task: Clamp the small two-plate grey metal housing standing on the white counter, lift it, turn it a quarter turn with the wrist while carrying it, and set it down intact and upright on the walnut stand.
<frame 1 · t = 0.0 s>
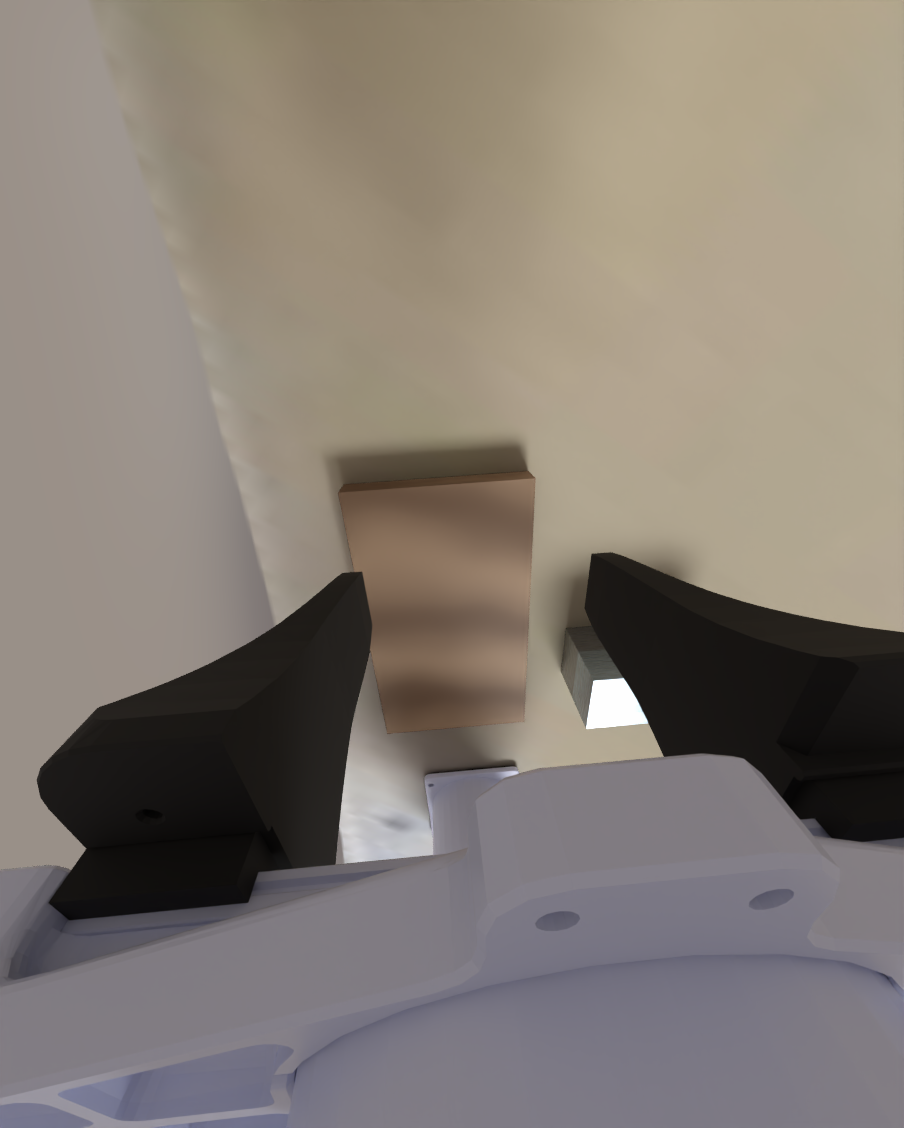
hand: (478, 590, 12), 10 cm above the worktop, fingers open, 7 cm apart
housing: (618, 645, 27), on the worktop
stand: (447, 614, 25), on the worktop
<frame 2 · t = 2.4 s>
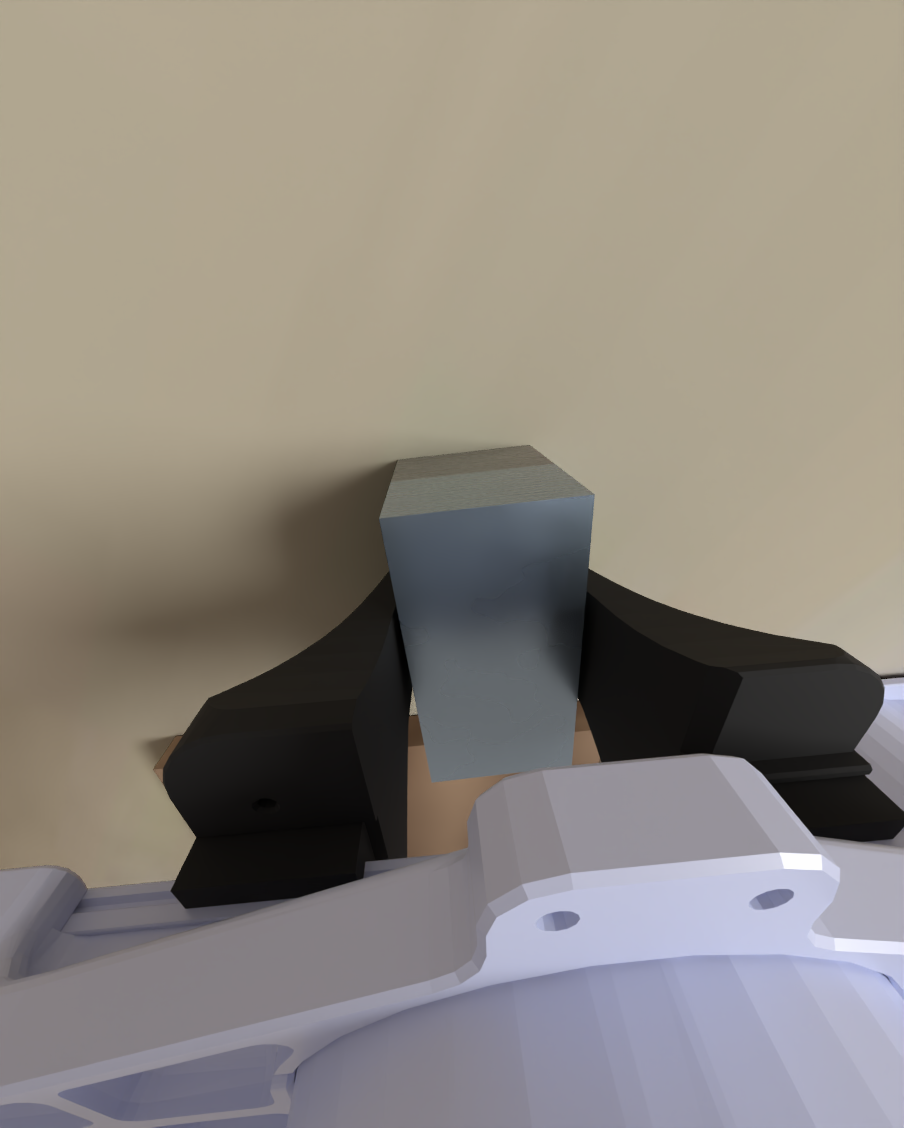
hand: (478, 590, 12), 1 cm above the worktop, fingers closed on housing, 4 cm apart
housing: (473, 567, 13), on the worktop, touching gripper
stand: (400, 787, 19), on the worktop
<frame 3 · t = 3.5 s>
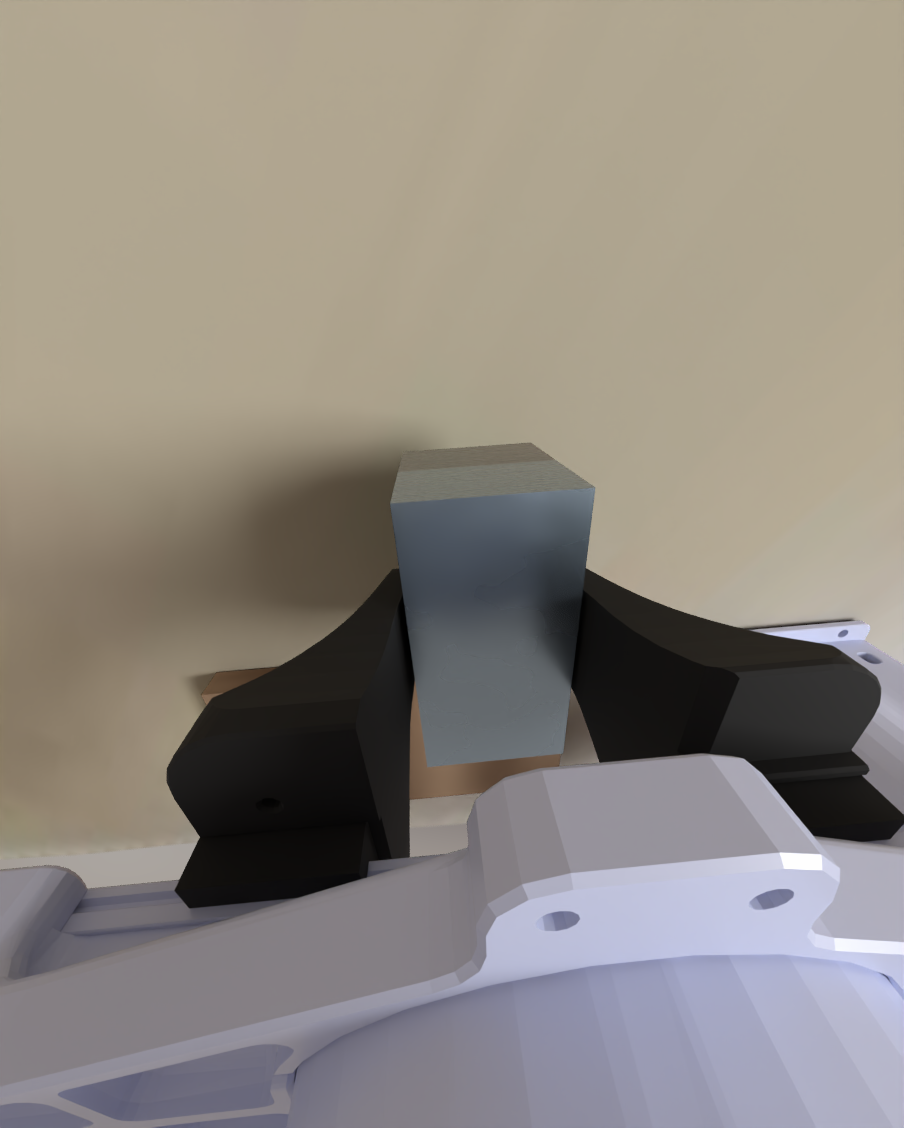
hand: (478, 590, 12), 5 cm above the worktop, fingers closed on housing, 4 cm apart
housing: (471, 561, 14), point 3 cm above the worktop, touching gripper
stand: (402, 723, 22), on the worktop
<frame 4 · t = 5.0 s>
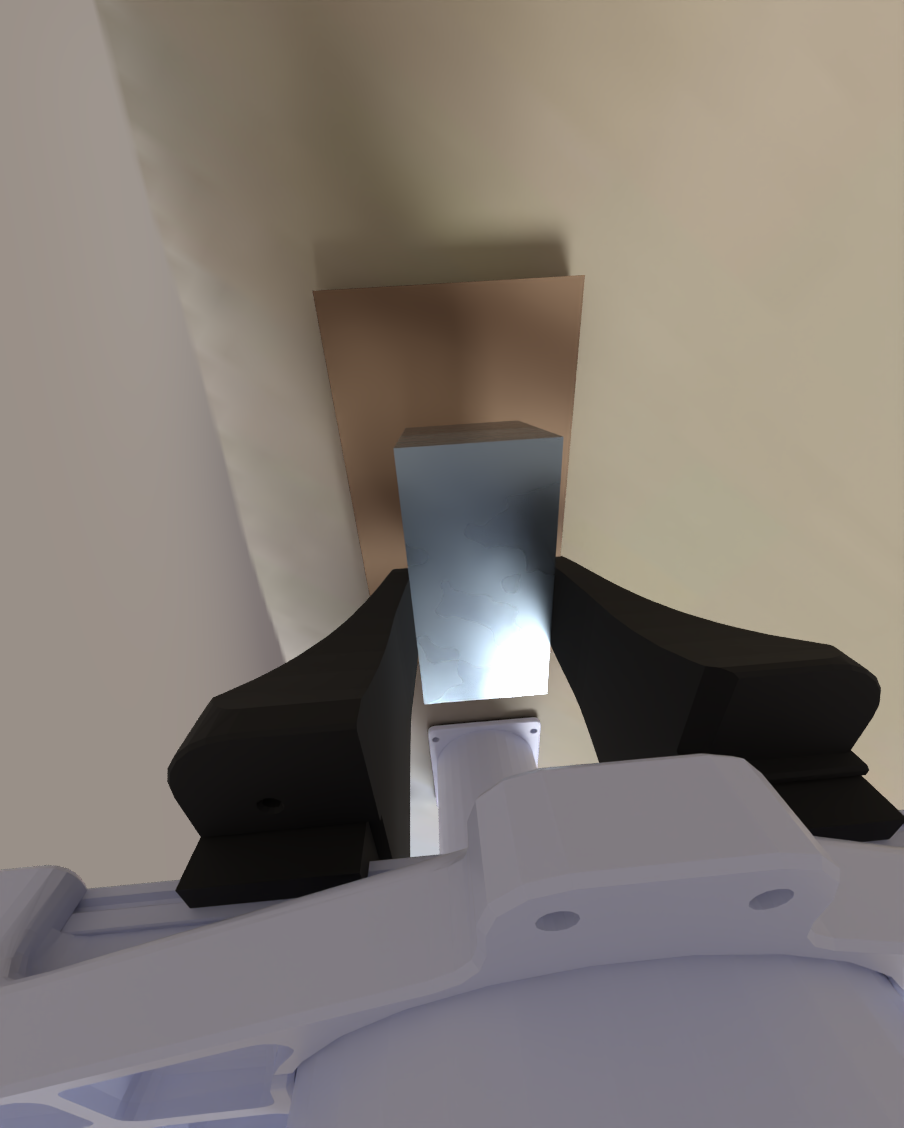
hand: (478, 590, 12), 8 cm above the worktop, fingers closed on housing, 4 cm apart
housing: (466, 530, 15), point 5 cm above the worktop, touching gripper
stand: (458, 504, 19), on the worktop
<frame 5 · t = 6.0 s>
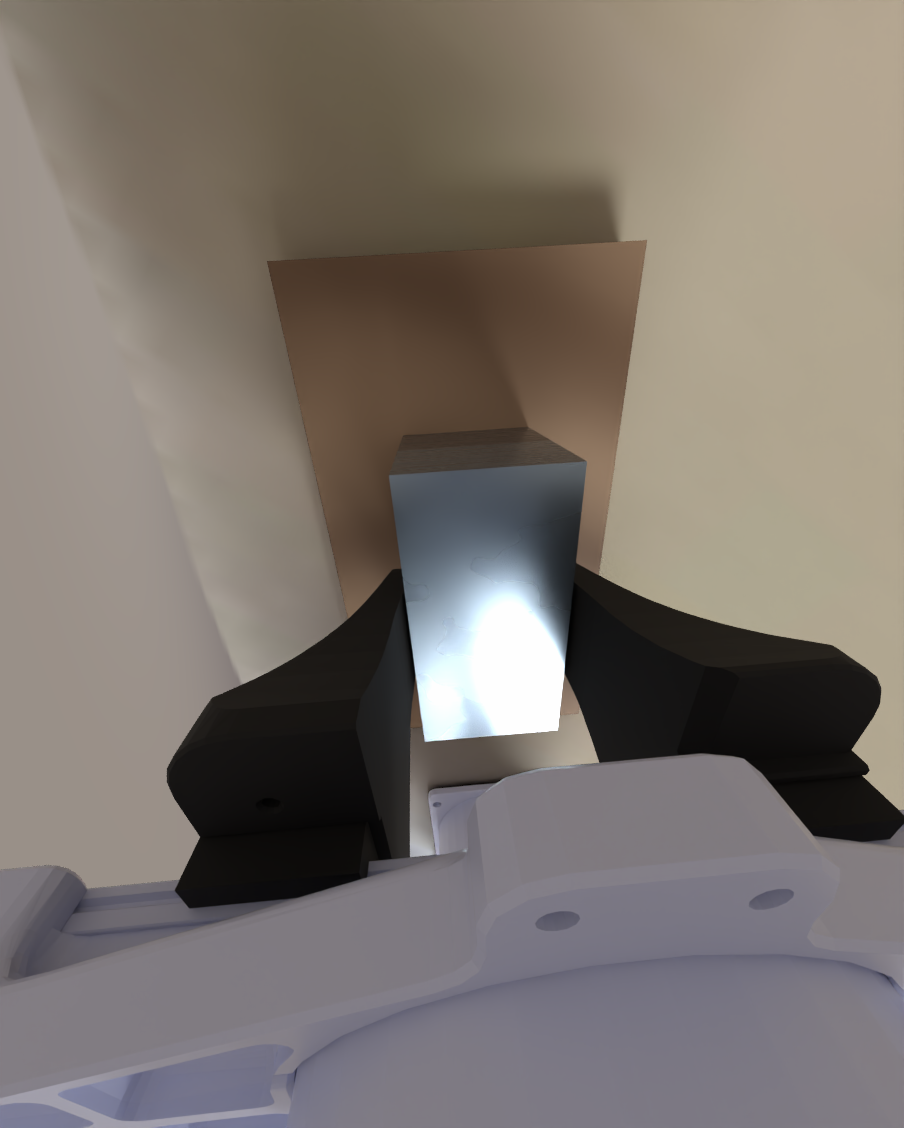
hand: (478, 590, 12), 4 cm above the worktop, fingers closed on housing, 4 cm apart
housing: (470, 545, 14), point 1 cm above the worktop, touching gripper, stand
stand: (466, 540, 15), on the worktop
when the fingers open (4 cm above the worktop, at t = 6.6 s): housing stays where it is, resting on stand.
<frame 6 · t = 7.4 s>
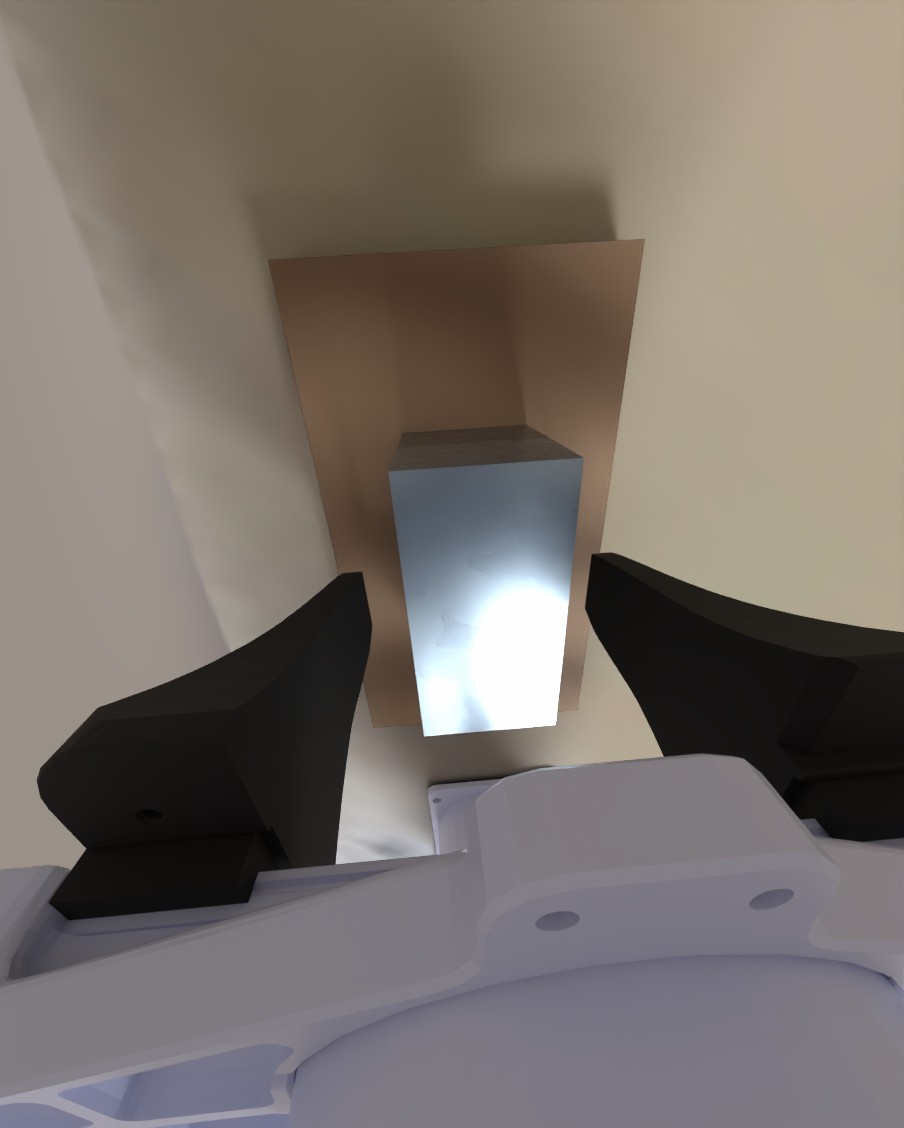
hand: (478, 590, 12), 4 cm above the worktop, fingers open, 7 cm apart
housing: (469, 542, 14), point 1 cm above the worktop, touching stand
stand: (466, 537, 15), on the worktop
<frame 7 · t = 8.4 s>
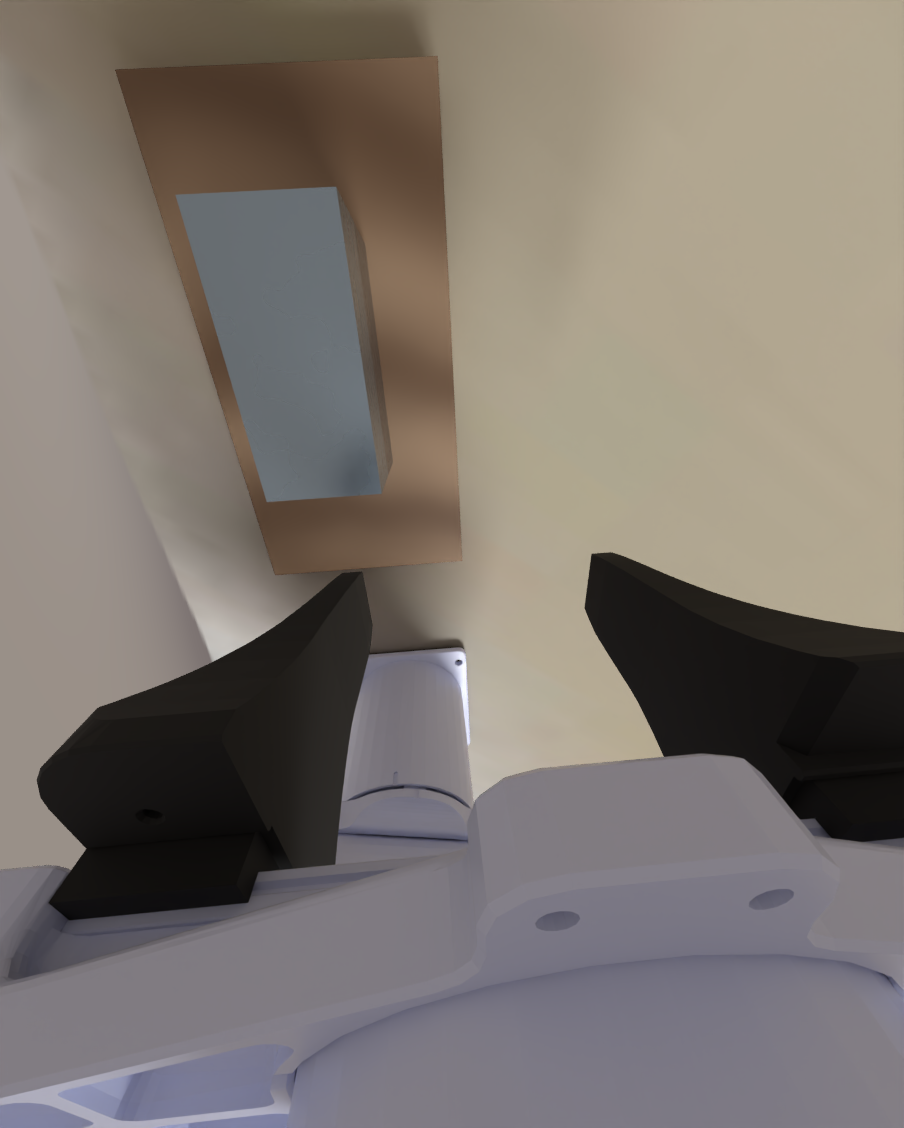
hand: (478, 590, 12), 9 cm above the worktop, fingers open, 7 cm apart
housing: (332, 368, 16), point 1 cm above the worktop, touching stand
stand: (342, 380, 17), on the worktop
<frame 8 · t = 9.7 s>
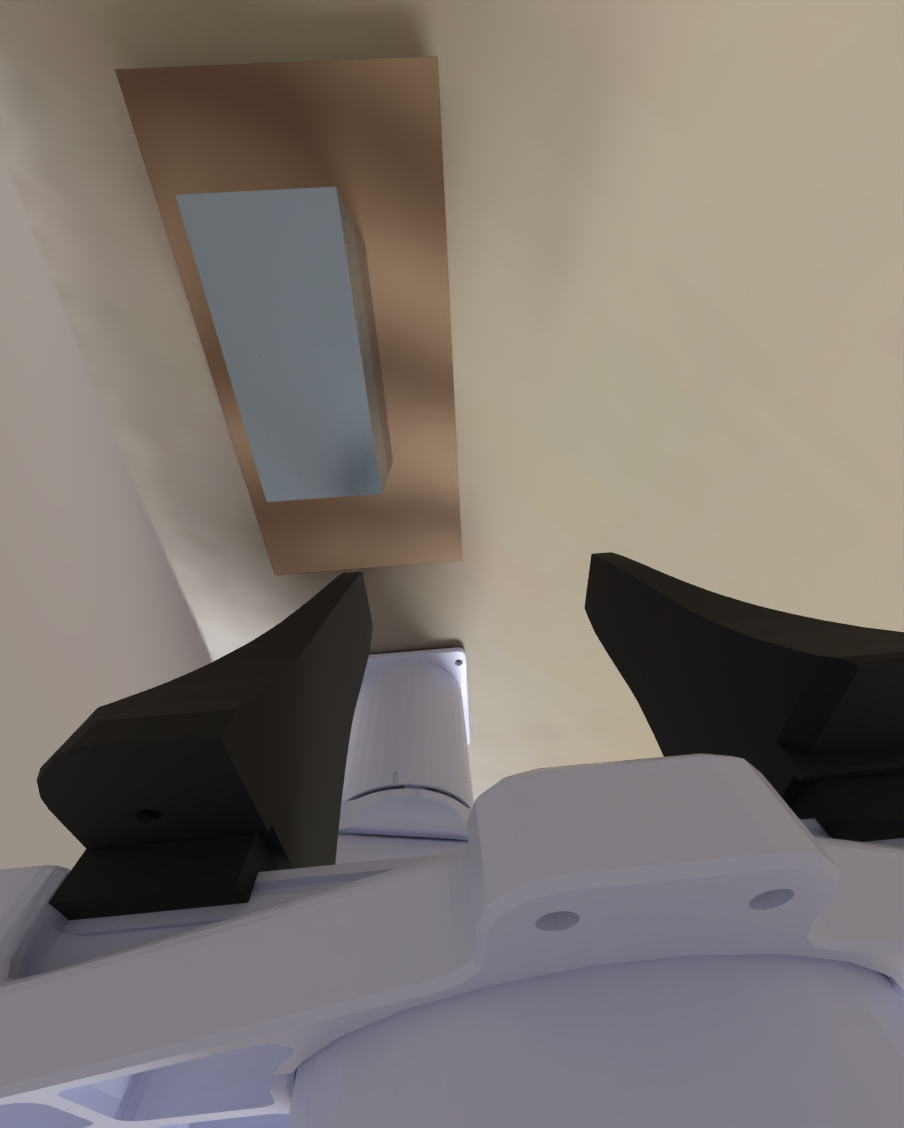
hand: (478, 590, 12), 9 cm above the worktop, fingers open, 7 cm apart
housing: (332, 368, 16), point 1 cm above the worktop, touching stand
stand: (342, 380, 17), on the worktop
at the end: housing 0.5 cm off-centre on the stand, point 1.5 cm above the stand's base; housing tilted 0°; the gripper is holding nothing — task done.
